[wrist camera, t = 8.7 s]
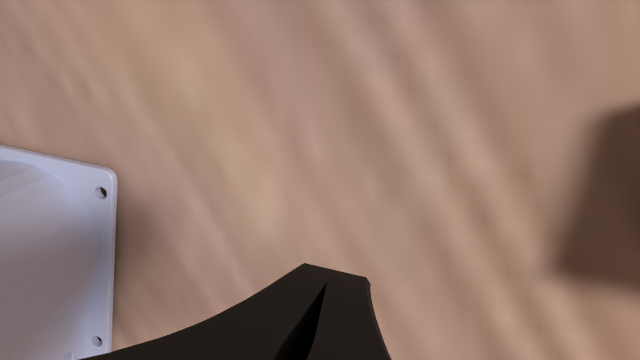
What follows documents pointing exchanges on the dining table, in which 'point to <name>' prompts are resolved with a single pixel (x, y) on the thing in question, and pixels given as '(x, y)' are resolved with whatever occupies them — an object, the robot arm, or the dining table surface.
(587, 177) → the dining table surface
